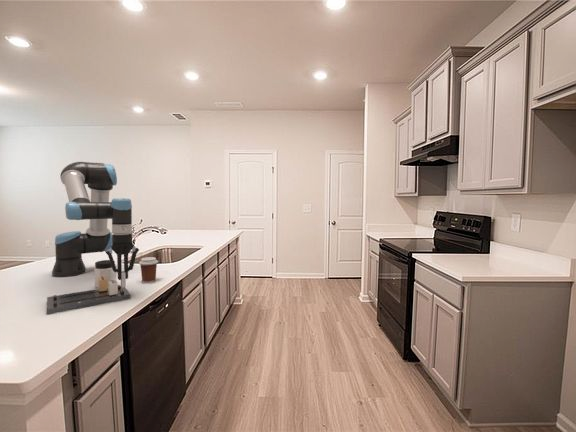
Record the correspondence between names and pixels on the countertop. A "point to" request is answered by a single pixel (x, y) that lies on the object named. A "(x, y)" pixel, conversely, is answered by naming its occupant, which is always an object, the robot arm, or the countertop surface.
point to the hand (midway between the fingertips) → (123, 286)
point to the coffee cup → (148, 269)
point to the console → (84, 299)
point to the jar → (104, 271)
